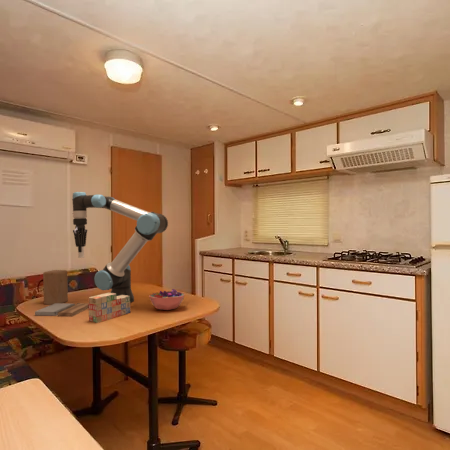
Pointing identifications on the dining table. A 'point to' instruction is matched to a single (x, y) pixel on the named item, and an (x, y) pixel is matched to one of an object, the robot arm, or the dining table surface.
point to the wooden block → (55, 287)
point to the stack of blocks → (108, 306)
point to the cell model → (167, 299)
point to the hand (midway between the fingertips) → (81, 257)
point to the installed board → (73, 310)
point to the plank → (53, 309)
